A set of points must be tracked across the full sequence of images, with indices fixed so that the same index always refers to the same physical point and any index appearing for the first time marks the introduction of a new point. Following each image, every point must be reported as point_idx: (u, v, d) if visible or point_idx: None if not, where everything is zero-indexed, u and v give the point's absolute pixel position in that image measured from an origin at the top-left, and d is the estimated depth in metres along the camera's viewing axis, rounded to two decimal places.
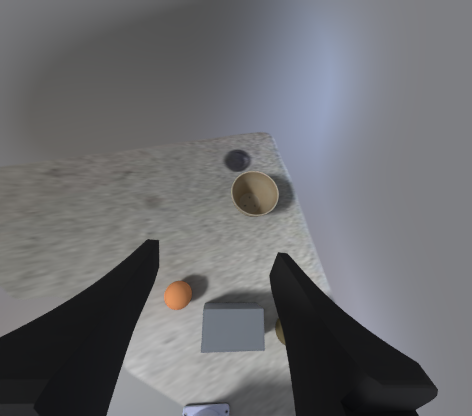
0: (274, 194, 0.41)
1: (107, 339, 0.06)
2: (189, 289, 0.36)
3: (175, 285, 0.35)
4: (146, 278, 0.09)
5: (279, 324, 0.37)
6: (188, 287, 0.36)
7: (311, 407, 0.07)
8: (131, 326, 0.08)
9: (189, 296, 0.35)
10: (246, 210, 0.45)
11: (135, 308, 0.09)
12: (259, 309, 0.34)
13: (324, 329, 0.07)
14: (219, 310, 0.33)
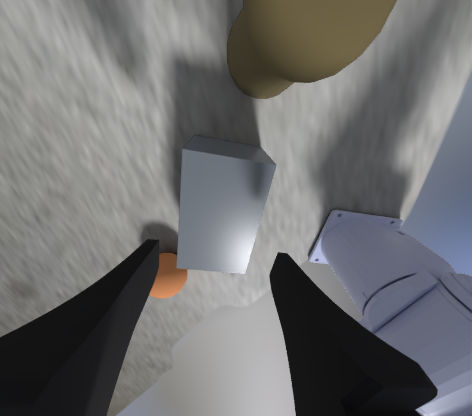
0: None
1: (107, 339, 0.06)
2: None
3: None
4: (146, 278, 0.09)
5: (245, 87, 0.15)
6: None
7: (311, 407, 0.07)
8: (131, 326, 0.08)
9: (164, 268, 0.20)
10: None
11: (135, 308, 0.09)
12: (184, 160, 0.12)
13: (324, 329, 0.07)
14: (180, 244, 0.16)
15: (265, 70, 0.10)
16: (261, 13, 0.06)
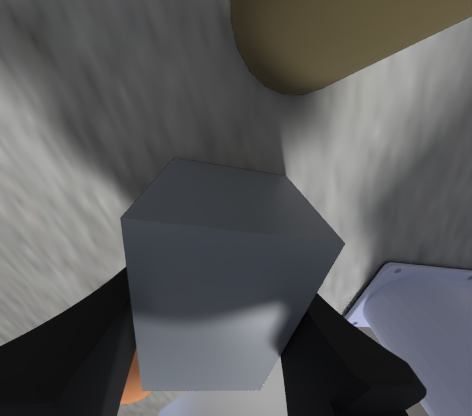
0: None
1: (119, 339, 0.06)
2: None
3: None
4: None
5: (267, 72, 0.07)
6: None
7: (302, 407, 0.07)
8: None
9: None
10: None
11: None
12: (129, 238, 0.05)
13: (315, 329, 0.07)
14: (143, 365, 0.08)
15: None
16: None
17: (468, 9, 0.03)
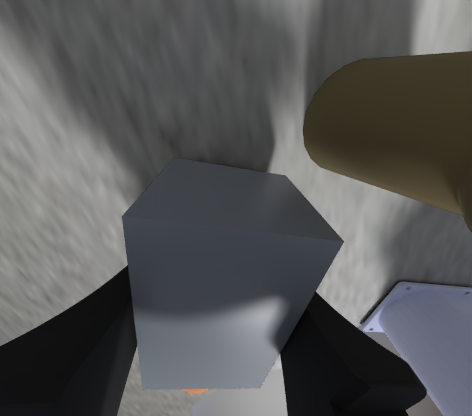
0: None
1: (119, 339, 0.06)
2: None
3: None
4: None
5: (328, 167, 0.11)
6: None
7: (302, 408, 0.07)
8: None
9: None
10: None
11: None
12: (130, 237, 0.05)
13: (315, 329, 0.07)
14: (144, 363, 0.08)
15: (421, 199, 0.06)
16: None
17: None
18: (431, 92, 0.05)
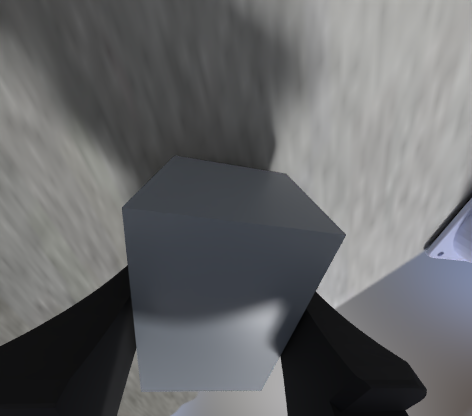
0: None
1: (119, 339, 0.06)
2: None
3: None
4: None
5: None
6: None
7: (301, 408, 0.07)
8: None
9: None
10: None
11: None
12: (130, 229, 0.05)
13: (315, 329, 0.07)
14: (142, 363, 0.08)
15: None
16: None
17: None
18: None
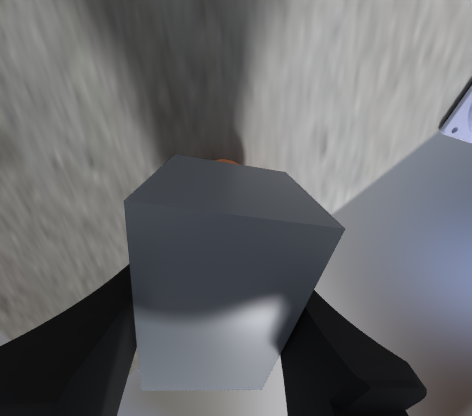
0: None
1: (119, 339, 0.06)
2: None
3: None
4: None
5: None
6: None
7: (302, 407, 0.07)
8: None
9: None
10: None
11: None
12: (132, 223, 0.05)
13: (315, 329, 0.07)
14: (143, 361, 0.08)
15: None
16: None
17: None
18: None
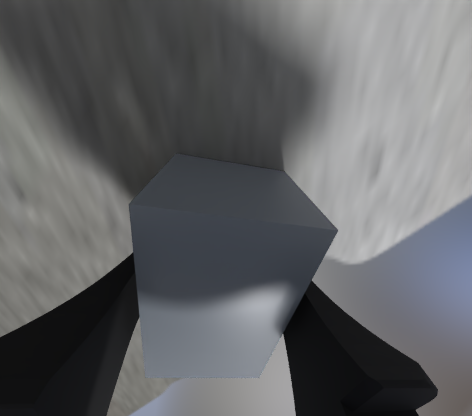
0: None
1: (107, 339, 0.06)
2: None
3: None
4: None
5: None
6: None
7: (311, 407, 0.07)
8: (131, 326, 0.08)
9: None
10: None
11: (135, 308, 0.09)
12: (136, 224, 0.06)
13: (324, 330, 0.07)
14: (147, 351, 0.09)
15: None
16: None
17: None
18: None
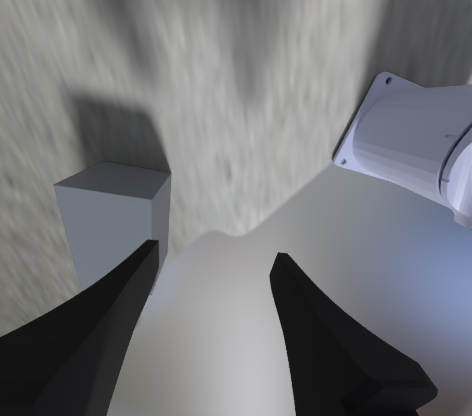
0: None
1: (107, 339, 0.06)
2: None
3: None
4: (146, 278, 0.09)
5: None
6: None
7: (311, 407, 0.07)
8: (131, 326, 0.08)
9: None
10: None
11: (135, 308, 0.09)
12: (58, 194, 0.13)
13: (324, 329, 0.07)
14: (77, 268, 0.16)
15: None
16: None
17: None
18: None
